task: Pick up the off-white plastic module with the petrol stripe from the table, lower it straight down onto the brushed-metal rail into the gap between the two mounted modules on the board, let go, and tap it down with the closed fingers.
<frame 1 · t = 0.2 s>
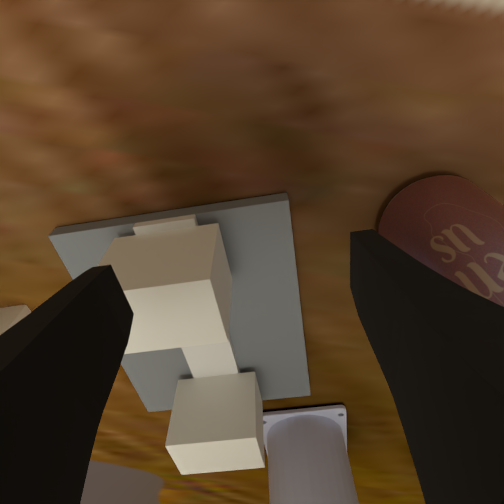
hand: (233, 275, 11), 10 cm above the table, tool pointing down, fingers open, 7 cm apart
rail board: (204, 319, 25), on the table
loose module: (25, 340, 27), on the table
beverage can: (423, 216, 21), on the table
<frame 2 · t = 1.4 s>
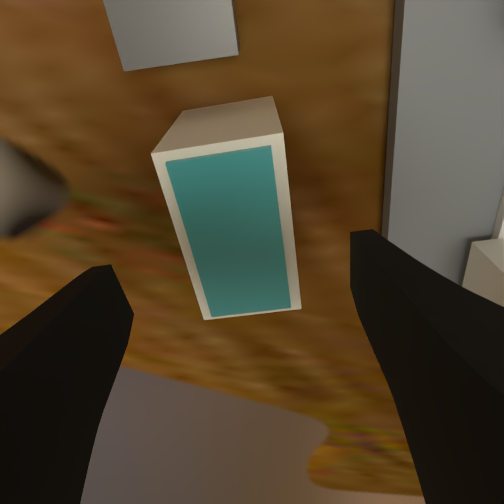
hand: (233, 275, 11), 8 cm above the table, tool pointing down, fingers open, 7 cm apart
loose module: (240, 177, 17), on the table
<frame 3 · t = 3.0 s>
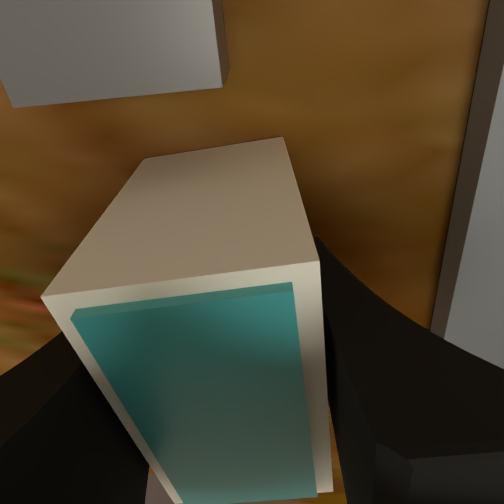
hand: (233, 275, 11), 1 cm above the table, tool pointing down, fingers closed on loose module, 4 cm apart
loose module: (235, 249, 12), on the table, touching gripper
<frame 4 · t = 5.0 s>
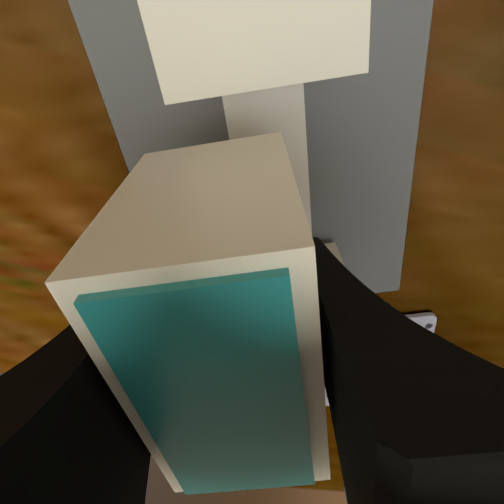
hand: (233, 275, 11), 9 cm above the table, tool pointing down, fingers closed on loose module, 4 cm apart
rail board: (270, 161, 18), on the table
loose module: (234, 244, 12), point 8 cm above the table, touching gripper
when the fingers open (4 cm above the table, at t = 6.9 s): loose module drops 1 cm, resting on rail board.
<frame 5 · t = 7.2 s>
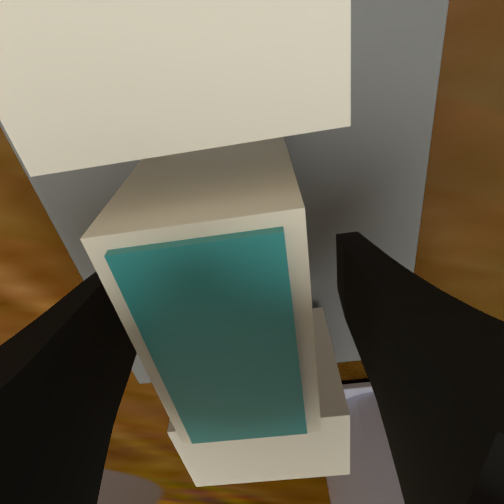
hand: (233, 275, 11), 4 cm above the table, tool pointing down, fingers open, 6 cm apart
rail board: (237, 209, 14), on the table
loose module: (235, 226, 13), point 1 cm above the table, touching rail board
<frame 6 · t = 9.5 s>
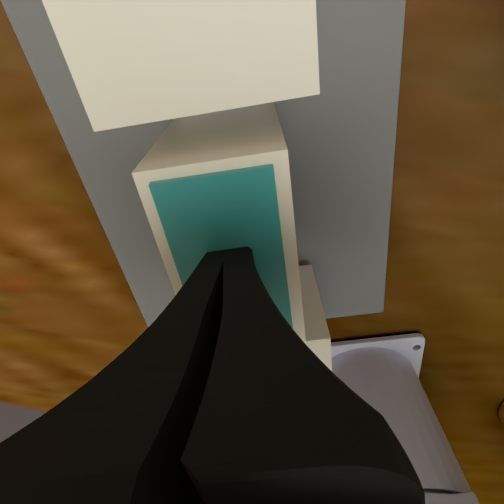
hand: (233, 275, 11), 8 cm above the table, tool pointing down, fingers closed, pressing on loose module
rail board: (239, 180, 17), on the table
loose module: (238, 191, 16), point 1 cm above the table, touching gripper, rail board
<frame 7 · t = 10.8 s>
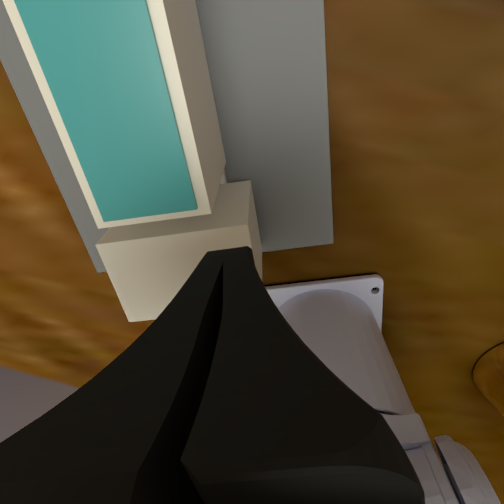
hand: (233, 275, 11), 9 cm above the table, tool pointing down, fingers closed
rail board: (174, 88, 17), on the table
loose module: (166, 90, 15), point 1 cm above the table, touching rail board
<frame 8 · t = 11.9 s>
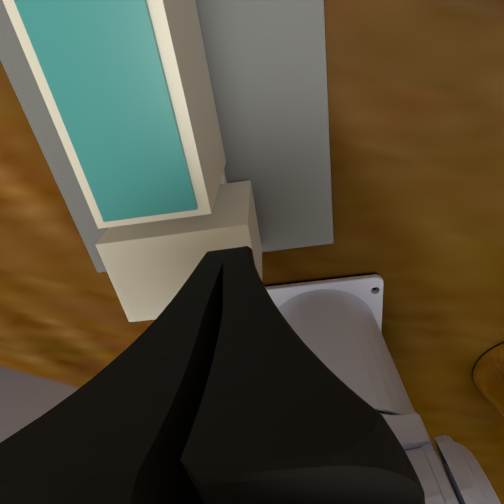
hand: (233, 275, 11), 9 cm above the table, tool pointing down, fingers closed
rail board: (174, 88, 17), on the table
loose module: (166, 90, 15), point 1 cm above the table, touching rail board
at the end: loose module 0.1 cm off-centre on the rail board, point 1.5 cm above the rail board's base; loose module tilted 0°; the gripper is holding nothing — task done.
